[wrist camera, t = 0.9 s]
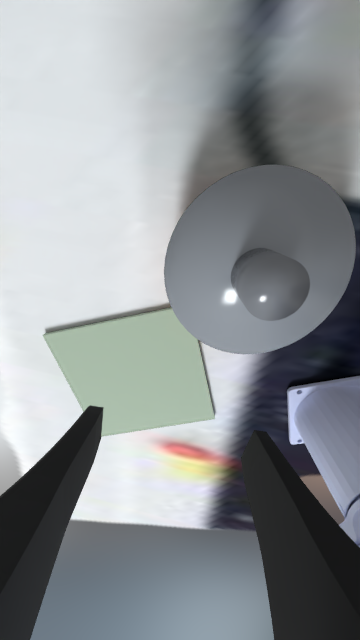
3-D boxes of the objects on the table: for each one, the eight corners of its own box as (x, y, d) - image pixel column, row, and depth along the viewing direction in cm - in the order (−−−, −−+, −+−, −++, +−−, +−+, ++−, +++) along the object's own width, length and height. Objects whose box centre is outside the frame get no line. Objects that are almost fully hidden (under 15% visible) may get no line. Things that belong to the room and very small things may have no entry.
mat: (189, 303, 19) (190, 305, 19) (214, 415, 25) (214, 418, 24) (45, 333, 20) (42, 335, 20) (98, 434, 26) (97, 437, 25)
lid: (354, 141, 12) (426, 113, 8) (340, 332, 16) (382, 363, 13) (143, 196, 13) (129, 190, 9) (185, 360, 18) (186, 396, 14)
